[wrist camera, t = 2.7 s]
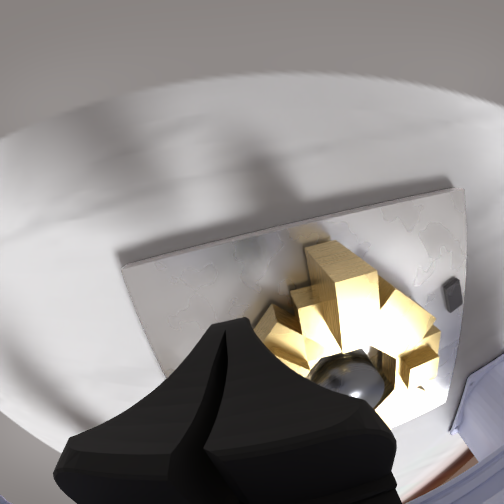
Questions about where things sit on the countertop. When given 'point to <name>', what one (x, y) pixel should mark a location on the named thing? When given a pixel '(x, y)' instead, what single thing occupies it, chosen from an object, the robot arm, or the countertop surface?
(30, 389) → the countertop surface
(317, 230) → the plate
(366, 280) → the gold blocky ring
